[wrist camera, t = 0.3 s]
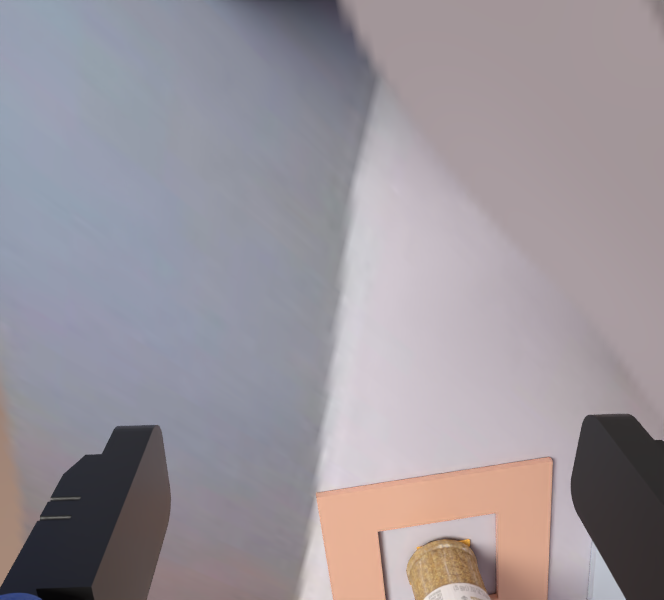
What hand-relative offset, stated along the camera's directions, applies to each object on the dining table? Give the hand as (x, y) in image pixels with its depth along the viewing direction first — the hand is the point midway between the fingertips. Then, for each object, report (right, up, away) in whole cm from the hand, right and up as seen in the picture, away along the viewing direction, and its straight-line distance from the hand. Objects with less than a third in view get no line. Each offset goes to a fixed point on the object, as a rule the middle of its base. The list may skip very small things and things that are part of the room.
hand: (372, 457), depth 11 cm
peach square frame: (+6, -14, +26) cm, 30 cm away
